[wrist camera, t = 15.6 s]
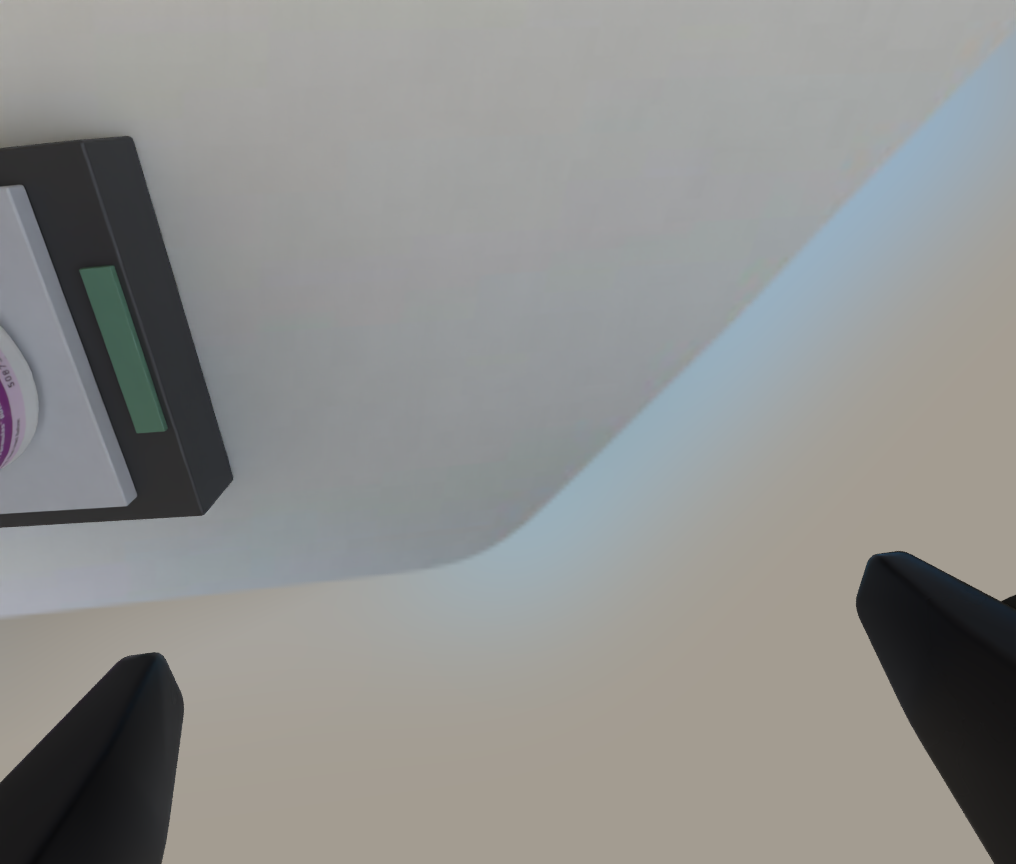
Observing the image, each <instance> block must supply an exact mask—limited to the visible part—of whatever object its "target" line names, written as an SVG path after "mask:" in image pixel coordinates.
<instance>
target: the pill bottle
mask: <svg viewBox="0 0 1016 864" xmlns="http://www.w3.org/2000/svg"><path fill="white" fill-rule="evenodd" d="M38 405H39V401H38V393H37V389H36V385H35V382H34V380H33V376H32V372H31V370H30V368H29V365H28V363H27V361H26V360H25V358H24V357H23V355H22V353H21V351H20V350H19V349H18V347H17V346H16V344H15V343H14V341H13V340H12V339H11V337H10V336H9V335H8V334H7V332H6V331H5V330H4V329H3V328H2V327H1V326H0V469H2V468H4V467H5V466H7V465H9V464H10V463H12V462H13V461H14V460H15V459H16V458H18V457H19V456H20V455H21V454H22V453H23V452H24V451H25V449H26V447H27V446H28V445H29V443H30V441H31V440H32V438H33V436H34V434H35V431H36V427H37V424H38V413H39V406H38Z"/></svg>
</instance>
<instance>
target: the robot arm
mask: <svg viewBox="0 0 1016 864" xmlns="http://www.w3.org/2000/svg"><path fill="white" fill-rule="evenodd" d="M856 607H857V612H858V616H859V618H860V620H861V623H862V624H863V627H864V629H865V631H866V633H867V635H868V637H869V639H870V641H871V644H872V646H873V648H874V650H875V652H876V654H877V656H878V658H879V660H880V662H881V665H882V667H883V669H884V671H885V673H886V675H887V677H888V679H889V681H890V683H891V685H892V687H893V690H894V692H895V694H896V696H897V698H898V700H899V702H900V704H901V706H902V708H903V710H904V712H905V714H906V716H907V718H908V720H909V722H910V724H911V726H912V727H913V729H914V730H915V732H916V734H917V736H918V738H919V739H920V741H921V743H922V745H923V746H924V748H925V750H926V751H927V753H928V755H929V756H930V758H931V760H932V761H933V763H934V764H935V766H936V768H937V769H938V771H939V773H940V774H941V776H942V778H943V779H944V781H945V782H946V784H947V786H948V788H949V789H950V791H951V793H952V794H953V796H954V798H955V799H956V801H957V802H958V804H959V806H960V808H961V809H962V811H963V813H964V814H965V816H966V818H967V819H968V821H969V822H970V824H971V826H972V827H973V829H974V831H975V832H976V834H977V836H978V837H979V839H980V841H981V842H982V844H983V846H984V847H985V849H986V851H987V852H988V854H989V856H990V857H991V859H992V861H993V862H994V864H1016V609H1014V608H1012V607H1010V606H1008V605H1006V604H1004V603H1003V602H1001V601H999V600H997V599H995V598H993V597H991V596H989V595H987V594H985V593H983V592H982V591H980V590H978V589H976V588H974V587H972V586H970V585H968V584H966V583H965V582H962V581H961V580H959V579H957V578H955V577H953V576H951V575H949V574H947V573H945V572H944V571H942V570H940V569H938V568H936V567H934V566H932V565H930V564H928V563H926V562H925V561H922V560H921V559H919V558H917V557H915V556H913V555H911V554H909V553H907V552H903V551H896V552H889V553H881V554H875V555H873V556H872V557H871V558H870V559H869V560H868V562H867V565H866V568H865V572H864V575H863V578H862V581H861V584H860V587H859V590H858V594H857V597H856ZM183 715H184V703H183V697H182V694H181V691H180V689H179V687H178V685H177V683H176V681H175V678H174V676H173V674H172V672H171V670H170V668H169V665H168V663H167V661H166V659H165V658H164V656H163V655H161V654H160V653H155V652H153V653H146V654H139V655H131V656H127V657H124V658H123V659H121V660H120V661H118V662H117V663H116V664H115V665H114V666H113V667H112V668H111V669H110V670H109V671H108V672H107V674H106V675H105V676H104V677H103V678H102V679H101V680H100V681H99V682H98V683H97V684H96V685H95V686H94V687H93V688H92V689H91V690H90V691H89V692H88V693H87V694H86V695H85V696H84V697H83V698H82V699H81V700H80V701H79V702H78V703H77V704H76V705H75V706H74V707H73V708H72V710H71V711H70V712H69V713H68V714H67V715H66V716H65V717H64V718H63V719H62V720H61V721H60V722H59V723H58V724H57V725H56V726H55V727H54V728H53V729H52V730H51V731H50V732H49V733H48V734H47V735H46V736H45V737H44V738H43V739H42V740H41V741H40V742H39V743H38V744H37V745H36V747H35V748H34V749H33V750H32V751H31V752H30V753H29V754H28V755H27V756H26V757H25V758H24V759H23V760H22V761H21V762H20V763H19V764H18V765H17V766H16V767H15V768H14V769H13V770H12V771H11V772H10V773H9V774H8V775H7V776H6V777H5V778H4V779H3V781H2V782H0V864H161V863H162V859H163V854H164V849H165V844H166V839H167V833H168V827H169V820H170V812H171V805H172V798H173V790H174V783H175V775H176V768H177V761H178V753H179V745H180V738H181V730H182V723H183Z"/></svg>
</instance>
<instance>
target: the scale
mask: <svg viewBox="0 0 1016 864" xmlns="http://www.w3.org/2000/svg"><path fill="white" fill-rule="evenodd" d="M0 326H1V327H2V328H3V329H4V330H5V331H6V332H7V334H8V335H9V336H10V337H11V339H12V340H13V341H14V343H15V344H16V346H17V347H18V349H19V350H20V351H21V353H22V355H23V357H24V358H25V360H26V361H27V363H28V365H29V368H30V370H31V372H32V376H33V380H34V382H35V385H36V389H37V393H38V401H39V405H38V406H39V413H38V424H37V427H36V431H35V434H34V436H33V438H32V440H31V441H30V443H29V445H28V446H27V447H26V449H25V451H24V452H23V453H22V454H21V455H20V456H19V457H18V458H16V459H15V460H14V461H13V462H12V463H10V464H9V465H7V466H5V467H4V468H2V469H0V528H2V527H18V526H35V525H52V524H69V523H85V522H102V521H119V520H136V519H153V518H169V517H186V516H202V515H204V514H205V513H206V512H207V511H208V510H209V508H210V507H211V506H212V505H213V504H214V502H215V501H216V500H217V499H218V497H219V496H220V495H221V494H222V493H223V491H224V490H225V489H226V488H227V487H228V485H229V484H230V483H231V482H232V481H233V475H232V472H231V468H230V465H229V462H228V458H227V455H226V451H225V448H224V445H223V441H222V438H221V435H220V431H219V428H218V424H217V421H216V418H215V414H214V411H213V408H212V404H211V401H210V398H209V394H208V391H207V387H206V384H205V381H204V377H203V374H202V371H201V367H200V364H199V361H198V357H197V354H196V350H195V347H194V344H193V340H192V337H191V334H190V330H189V327H188V323H187V320H186V317H185V313H184V310H183V307H182V303H181V300H180V297H179V293H178V290H177V286H176V283H175V280H174V276H173V273H172V270H171V266H170V263H169V259H168V256H167V253H166V249H165V246H164V243H163V239H162V236H161V233H160V229H159V226H158V222H157V219H156V216H155V212H154V209H153V206H152V202H151V199H150V195H149V192H148V189H147V185H146V182H145V179H144V175H143V172H142V169H141V165H140V162H139V158H138V155H137V152H136V148H135V145H134V142H133V139H132V138H131V137H129V136H123V137H110V138H97V139H83V140H73V141H64V142H54V143H45V144H35V145H26V146H17V147H7V148H0Z"/></svg>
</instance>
